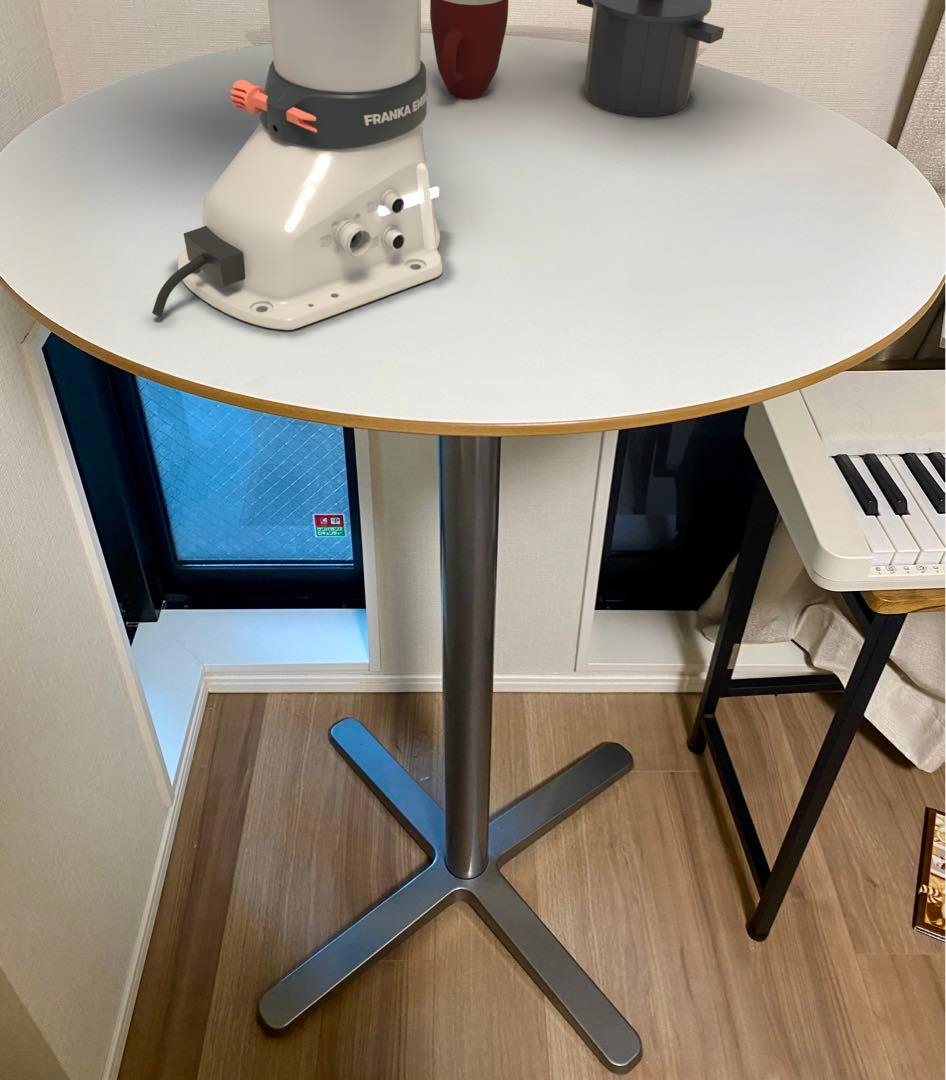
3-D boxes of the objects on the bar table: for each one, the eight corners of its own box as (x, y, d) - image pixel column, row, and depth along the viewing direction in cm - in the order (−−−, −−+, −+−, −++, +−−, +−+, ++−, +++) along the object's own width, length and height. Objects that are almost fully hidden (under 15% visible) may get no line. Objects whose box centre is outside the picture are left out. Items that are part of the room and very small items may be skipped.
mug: (492, 119, 104) (497, 16, 96) (416, 111, 104) (416, 8, 97) (508, 82, 111) (514, -16, 104) (438, 74, 112) (439, -24, 105)
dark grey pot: (671, 133, 103) (689, 36, 96) (544, 88, 110) (552, -5, 103) (728, 103, 109) (748, 10, 102) (604, 62, 116) (615, -28, 110)
